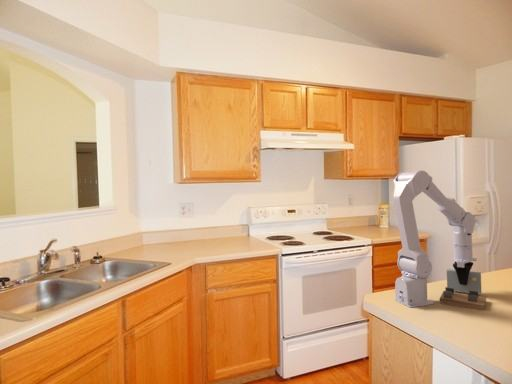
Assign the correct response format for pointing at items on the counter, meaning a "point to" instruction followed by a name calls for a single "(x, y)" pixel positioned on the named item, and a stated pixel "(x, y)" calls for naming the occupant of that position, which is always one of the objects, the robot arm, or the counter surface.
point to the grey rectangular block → (472, 283)
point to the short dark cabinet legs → (450, 291)
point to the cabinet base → (464, 301)
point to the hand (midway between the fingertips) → (463, 283)
